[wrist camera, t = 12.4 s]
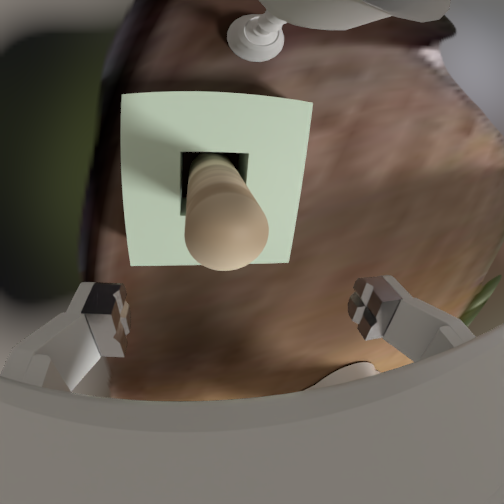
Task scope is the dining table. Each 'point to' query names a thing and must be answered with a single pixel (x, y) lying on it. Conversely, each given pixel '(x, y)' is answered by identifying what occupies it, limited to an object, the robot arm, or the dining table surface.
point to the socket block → (208, 140)
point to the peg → (222, 215)
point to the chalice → (319, 20)
